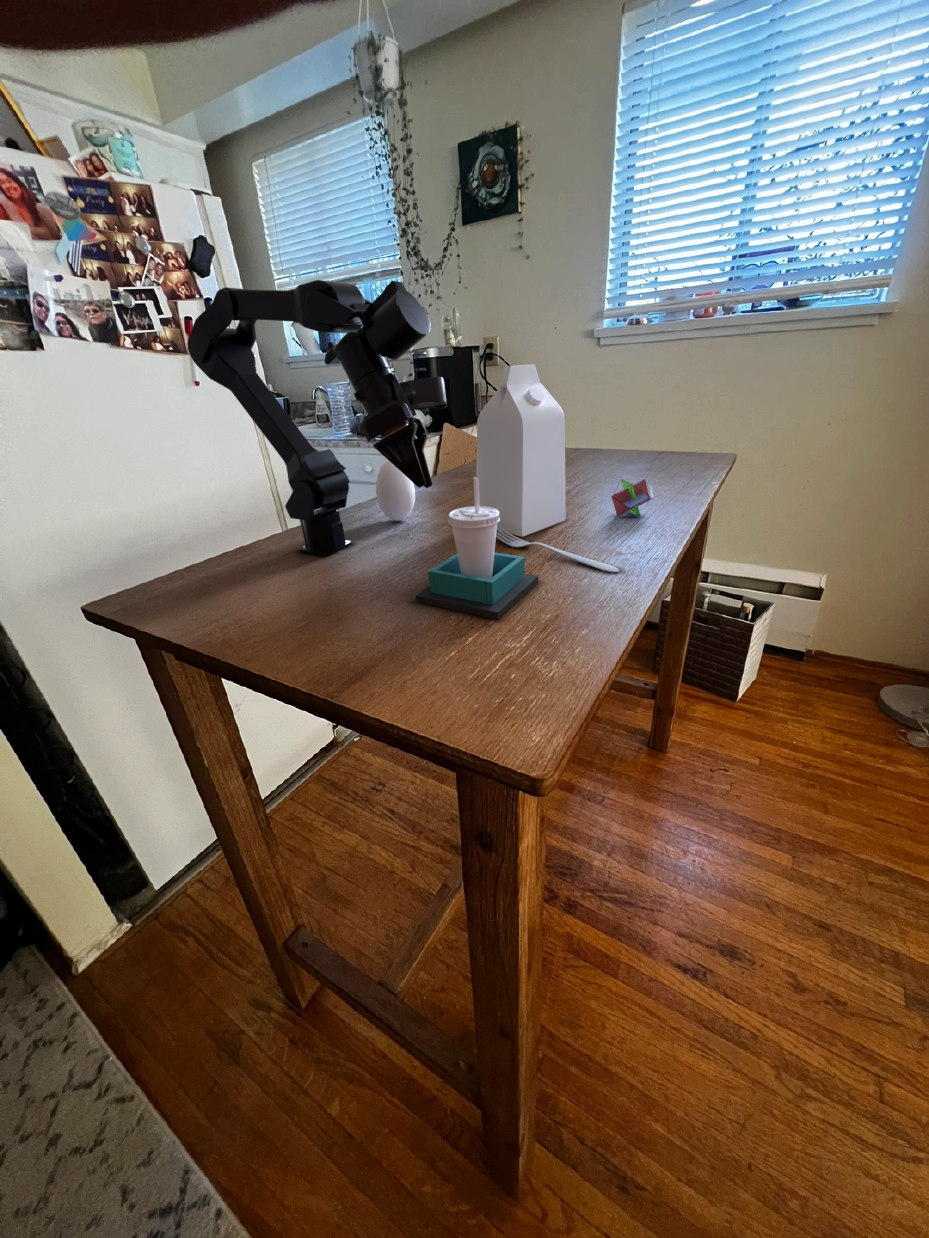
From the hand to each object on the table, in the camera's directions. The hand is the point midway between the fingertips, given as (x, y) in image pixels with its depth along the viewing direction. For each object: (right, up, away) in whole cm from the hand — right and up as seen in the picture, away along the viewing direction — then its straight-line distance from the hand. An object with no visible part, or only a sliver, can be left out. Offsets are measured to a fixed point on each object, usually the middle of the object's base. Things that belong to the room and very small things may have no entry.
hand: (426, 486), depth 71 cm
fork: (+19, -9, +7) cm, 22 cm away
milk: (+16, -1, +22) cm, 27 cm away
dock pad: (+7, -15, -4) cm, 17 cm away
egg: (-8, +1, +28) cm, 29 cm away
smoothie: (+7, -14, -4) cm, 17 cm away
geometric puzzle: (+36, 0, +22) cm, 42 cm away
